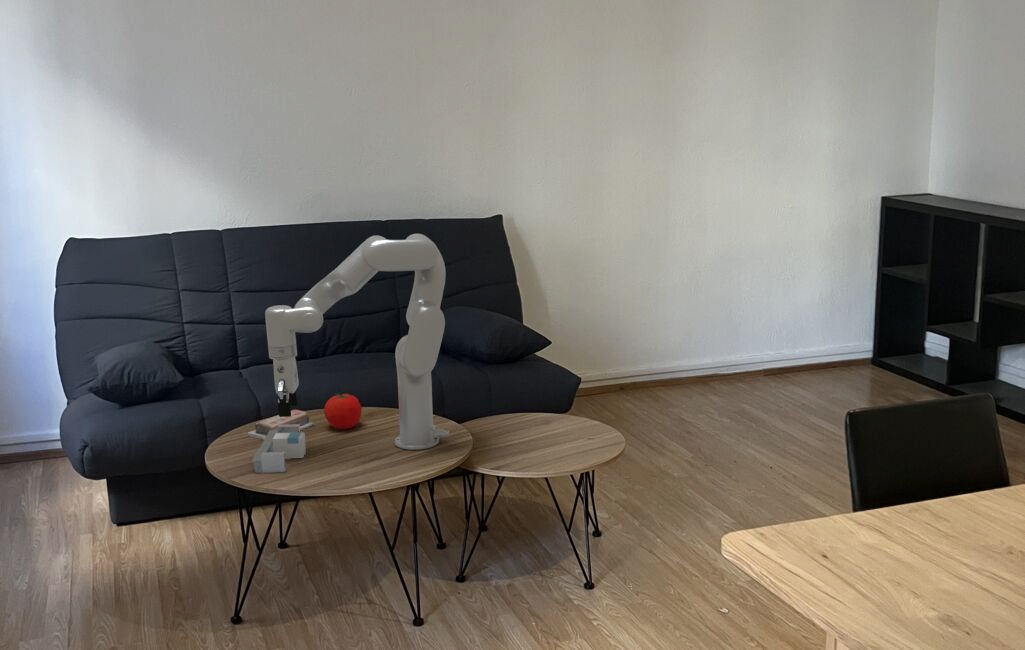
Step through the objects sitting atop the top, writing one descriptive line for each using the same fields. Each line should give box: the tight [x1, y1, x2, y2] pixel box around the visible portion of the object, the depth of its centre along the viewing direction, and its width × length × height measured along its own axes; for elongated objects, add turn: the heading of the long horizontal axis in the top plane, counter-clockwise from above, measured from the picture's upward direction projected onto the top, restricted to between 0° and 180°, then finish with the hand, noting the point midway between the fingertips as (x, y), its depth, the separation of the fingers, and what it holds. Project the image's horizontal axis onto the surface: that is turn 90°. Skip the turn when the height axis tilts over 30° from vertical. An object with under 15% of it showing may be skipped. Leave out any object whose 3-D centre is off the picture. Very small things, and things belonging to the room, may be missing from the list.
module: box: [273, 431, 307, 460], centre depth 301 cm, size 8×5×6 cm, turn 92°
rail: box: [251, 424, 301, 474], centre depth 301 cm, size 9×26×5 cm, turn 2°
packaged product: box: [247, 409, 315, 441], centre depth 324 cm, size 18×5×10 cm
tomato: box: [323, 392, 363, 430], centre depth 325 cm, size 11×13×10 cm
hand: (288, 410), depth 299 cm, fingers open, 9 cm apart
